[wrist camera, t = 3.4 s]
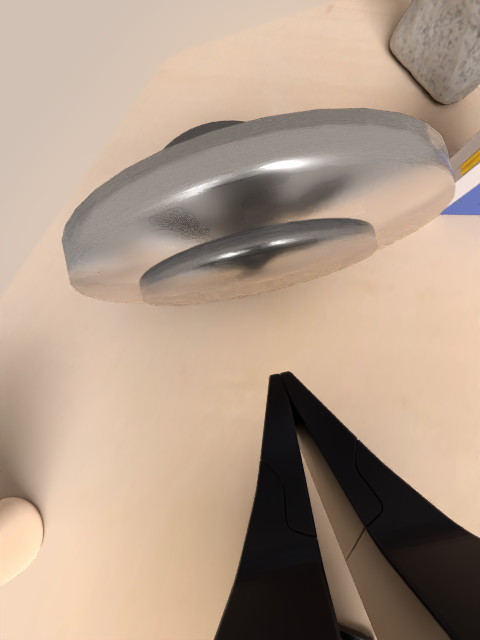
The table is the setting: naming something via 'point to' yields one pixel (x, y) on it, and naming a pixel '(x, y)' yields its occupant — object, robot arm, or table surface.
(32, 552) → the beer glass
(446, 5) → the decorative stone
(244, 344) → the table surface
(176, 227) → the cooker lid
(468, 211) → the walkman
